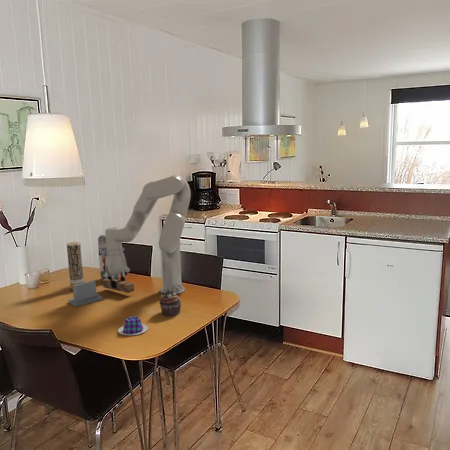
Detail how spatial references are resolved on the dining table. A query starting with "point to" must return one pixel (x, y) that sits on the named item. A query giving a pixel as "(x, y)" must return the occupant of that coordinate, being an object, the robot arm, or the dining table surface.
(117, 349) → the dining table surface
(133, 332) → the pudding
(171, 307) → the cupcake
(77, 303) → the ridge
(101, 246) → the juice carton
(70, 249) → the paper tube
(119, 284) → the rod
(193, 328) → the dining table surface
